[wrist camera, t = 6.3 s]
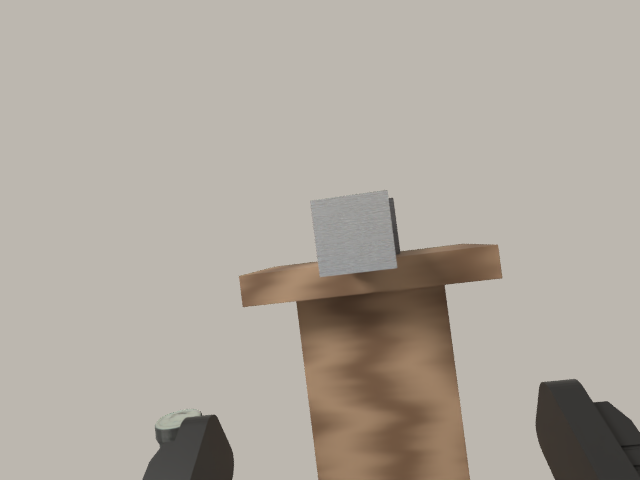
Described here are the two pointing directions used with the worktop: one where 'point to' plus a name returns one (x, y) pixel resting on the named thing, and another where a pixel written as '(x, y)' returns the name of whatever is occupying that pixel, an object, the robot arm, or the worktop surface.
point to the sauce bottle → (172, 424)
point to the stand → (381, 361)
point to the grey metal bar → (355, 233)
